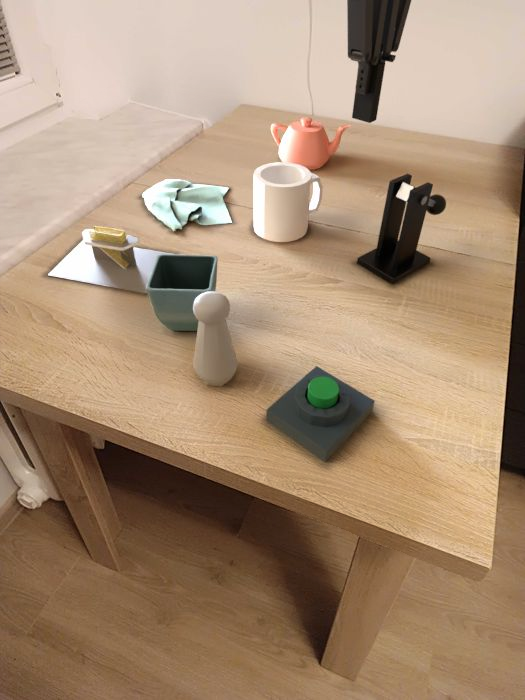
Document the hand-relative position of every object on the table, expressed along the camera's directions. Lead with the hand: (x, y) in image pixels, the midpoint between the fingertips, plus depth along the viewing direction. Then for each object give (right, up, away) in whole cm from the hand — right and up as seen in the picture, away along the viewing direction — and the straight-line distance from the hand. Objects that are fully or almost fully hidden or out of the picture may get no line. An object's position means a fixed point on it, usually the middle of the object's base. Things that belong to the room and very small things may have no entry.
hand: (364, 118), depth 64 cm
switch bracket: (+10, -15, +23) cm, 29 cm away
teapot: (-2, +15, +54) cm, 56 cm away
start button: (-6, -35, -4) cm, 36 cm away
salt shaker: (-19, -33, +4) cm, 38 cm away
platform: (-39, -15, +22) cm, 47 cm away
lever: (+13, -6, +19) cm, 23 cm away
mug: (-8, -6, +32) cm, 34 cm away
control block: (-6, -38, -2) cm, 38 cm away
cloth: (-28, -1, +38) cm, 47 cm away
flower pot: (-24, -25, +12) cm, 37 cm away
